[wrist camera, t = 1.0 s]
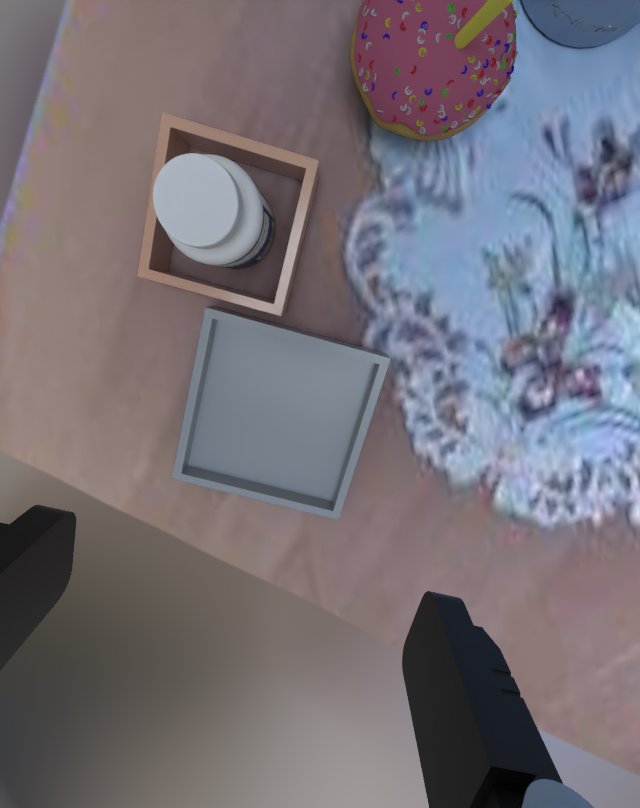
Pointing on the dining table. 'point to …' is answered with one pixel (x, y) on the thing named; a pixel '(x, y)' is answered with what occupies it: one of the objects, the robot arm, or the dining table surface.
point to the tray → (277, 412)
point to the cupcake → (432, 62)
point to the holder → (186, 134)
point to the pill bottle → (213, 211)
